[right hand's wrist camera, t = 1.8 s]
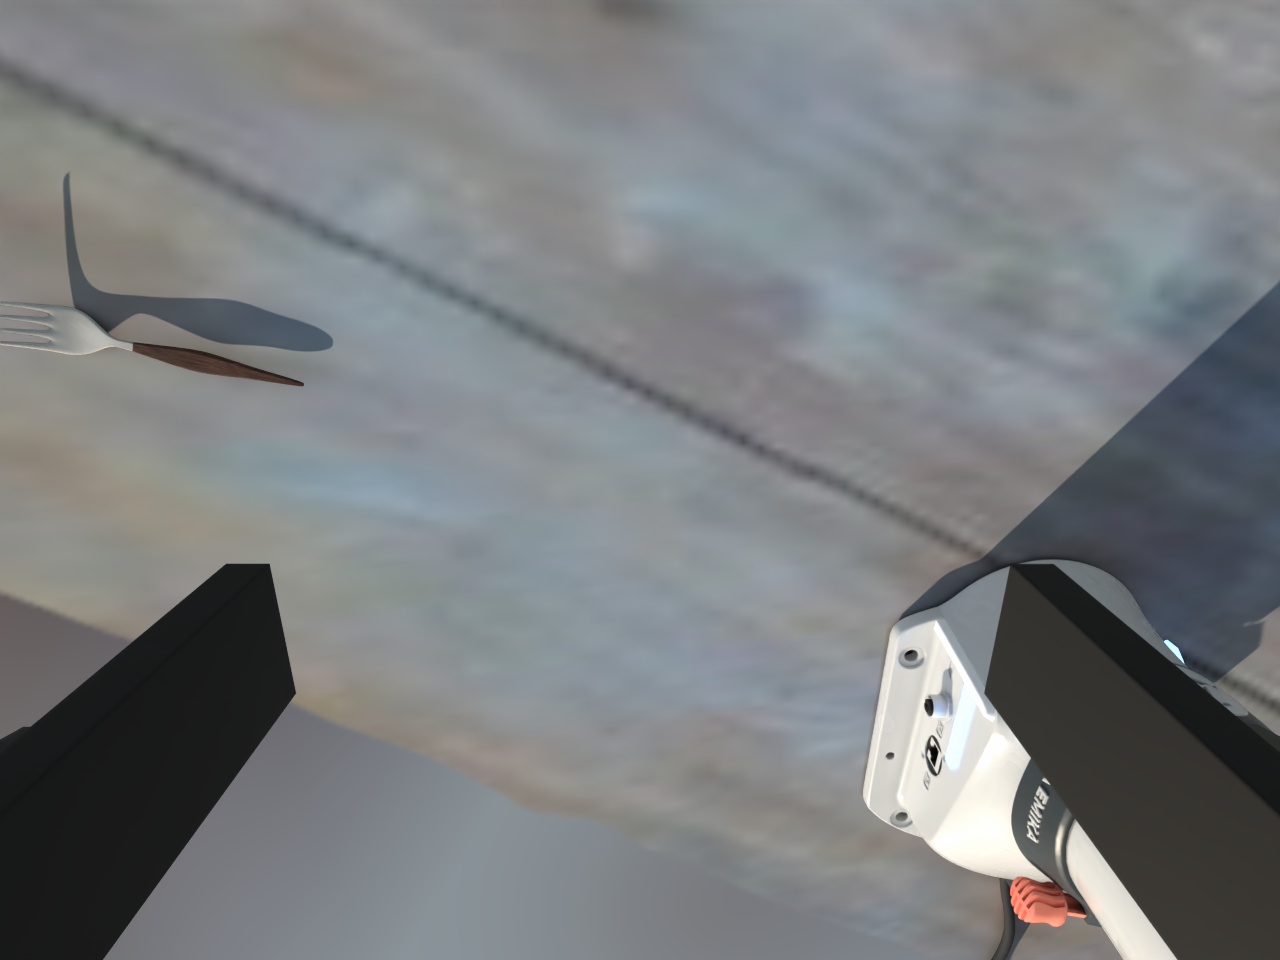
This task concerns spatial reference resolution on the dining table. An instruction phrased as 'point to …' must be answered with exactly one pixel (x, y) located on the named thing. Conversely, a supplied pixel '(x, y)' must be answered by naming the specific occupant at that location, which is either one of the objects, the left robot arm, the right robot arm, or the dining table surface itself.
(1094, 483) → the dining table surface
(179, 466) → the dining table surface
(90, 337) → the fork
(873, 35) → the dining table surface
